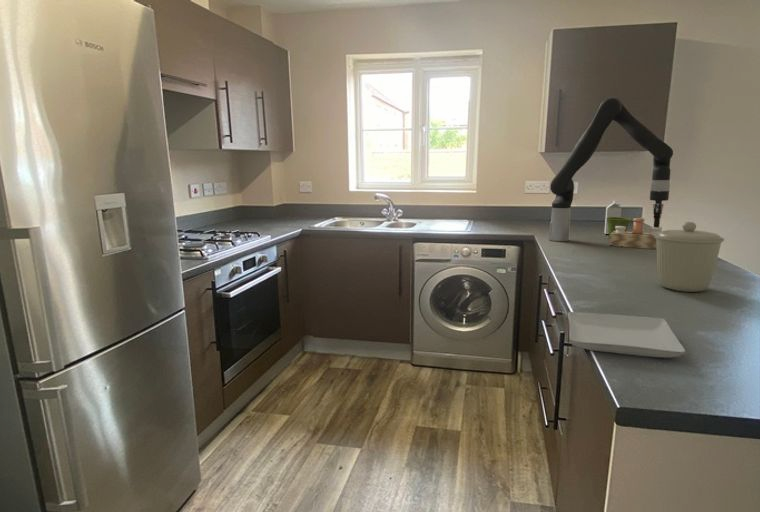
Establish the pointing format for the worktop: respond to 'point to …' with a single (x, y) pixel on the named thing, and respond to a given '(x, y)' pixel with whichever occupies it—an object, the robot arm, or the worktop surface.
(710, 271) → the canister
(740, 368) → the worktop surface
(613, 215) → the milk carton
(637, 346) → the salad plate
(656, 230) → the cream plug right
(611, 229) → the plant pot
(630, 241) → the woven basket
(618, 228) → the cream plug left
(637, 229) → the terracotta plug
